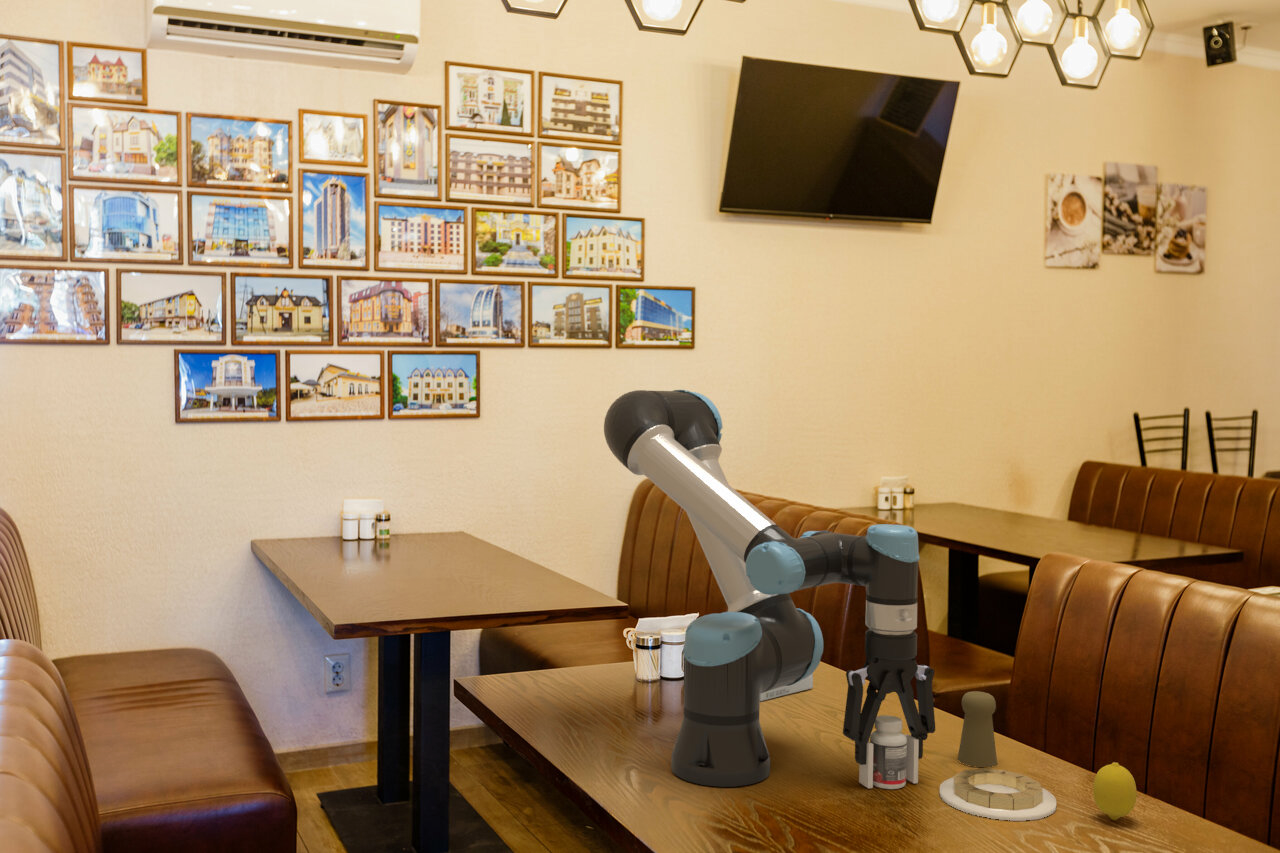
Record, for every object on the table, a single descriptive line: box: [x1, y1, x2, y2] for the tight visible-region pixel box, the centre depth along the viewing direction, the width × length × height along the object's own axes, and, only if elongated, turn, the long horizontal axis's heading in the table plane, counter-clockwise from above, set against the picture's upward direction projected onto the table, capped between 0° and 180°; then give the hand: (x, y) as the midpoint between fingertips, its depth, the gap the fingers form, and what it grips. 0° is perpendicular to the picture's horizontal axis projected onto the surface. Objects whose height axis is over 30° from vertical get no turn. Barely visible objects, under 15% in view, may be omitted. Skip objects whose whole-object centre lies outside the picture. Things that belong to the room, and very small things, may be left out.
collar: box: [952, 768, 1043, 810], centre depth 160 cm, size 12×12×2 cm
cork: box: [957, 690, 998, 768], centre depth 176 cm, size 6×6×11 cm
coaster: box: [939, 777, 1057, 822], centre depth 160 cm, size 16×16×1 cm
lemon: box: [1092, 761, 1138, 821], centre depth 153 cm, size 6×6×8 cm
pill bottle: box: [869, 714, 907, 790], centre depth 166 cm, size 5×5×10 cm
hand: (888, 782), depth 166 cm, fingers open, 7 cm apart
